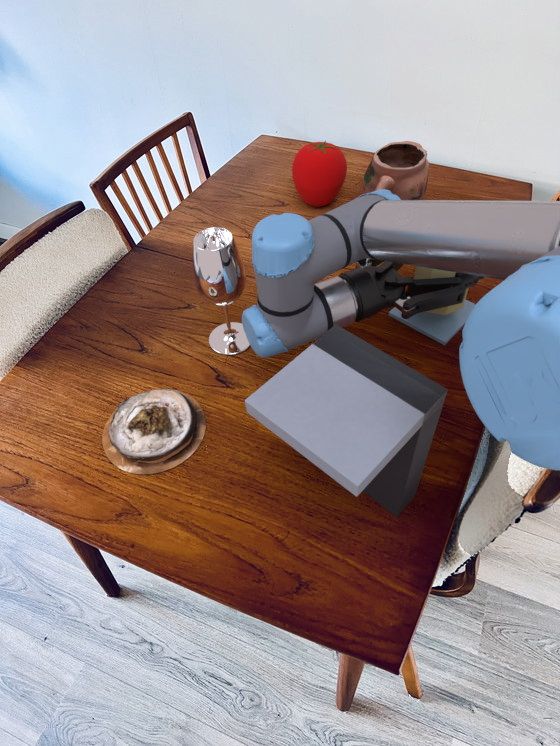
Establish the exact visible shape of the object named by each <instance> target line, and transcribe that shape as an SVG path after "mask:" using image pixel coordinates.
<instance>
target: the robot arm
mask: <svg viewBox="0 0 560 746" xmlns="http://www.w3.org/2000/svg"><path fill="white" fill-rule="evenodd" d="M251 262H252V266H253V271H254V278H255V283H256V284H255V285H256V290H257V291H256V292H257V297H256V301H257V303H256V304H252V305H251V306H250V307H247V308H246V309H244V310H243V312H242V315H241V323H242V325H243V329H244V332H245V335H246V337H247V340H248V342H249V344H250V347H251V349H252V351H253V352H254V353H255V354H256V355H257V356H258V357H260V358H262V359H269V358H271V357H274V356H277V355H280V354H283V353H288V352H290V351H291V350H294V349H296V348H298V347H300V346H303V345H305V344H308V343H310V342H312V341H313V342H314V341H316V340H317V339H319V338H320V337H321V336H322V335H323V334H325V333H326V332H327V331H328V330H329V329H331V328H332V327H333V326H334V325H335V324H337V325H338V326H340V327H342V328H343V329H345V328H347V327H349V326H353V324H354V323H360V322H363V321H365V320H368V319H370V318H373V317H375V316H377V315H378V314H379V313H380V312H381V311H383V310H384V309H393V308H394V307H396V308H397V309H398V310H400V311H401V312H402V314H401V317H402V318H403V319H408V318H410V317H412V316H413V315H415V314H417V313H421V312H426V311H430V310H434V309H439V308H443V307H447V306H451V305H456V304H460V303H462V302H463V299H464V296H465V292H466V288H471V287H473V286H475V285H477V284H478V282H479V281H480V280H483V279H485V278H488V279H489V278H490V279H495V280H502V281H501V282H500V283H499V284H497V285H496V286H495V287H493V288H492V289H491V290H489V291H488V292H487V293H486V294H484V295H483V297H481V298H480V299H479V300H478V301H477V302H476V303H475V304H476V305H475V306H474V308H473V309H472V311H471V312H470V314H469V316H468V318H467V320H466V322H465V325H464V326H463V327H462V331H461V333H462V334H461V335H462V336H461V337H462V341H461V343H460V345H459V351H458V357H459V370H460V375H461V379H462V383H463V387H464V389H465V392H466V395H467V398H468V400H469V402H470V404H471V406H472V408H473V410H474V413H475V414H476V416H477V417H478V419H479V420H480V421H481V422H482V424H483V425H484V427H485V428H486V430H487V431H488V432H489V434H491V435H492V436H493V438H495V439H496V441H498V442H500V443H505V442H507V443H508V445H509V450H510V452H511V454H513V455H514V456H516V457H518V458H519V459H521V460H523V461H524V462H527V463H529V464H531V465H533V466H536V467H539V468H542V469H546V470H551V471H555V472H556V474H557V475H558V476H559V477H560V200H477V199H476V200H474V199H473V200H472V199H471V200H469V199H468V200H465V199H463V200H462V199H461V200H459V199H457V200H453V199H451V200H448V199H444V200H443V199H440V200H439V199H421V200H401V199H400V198H399V197H398V196H397V195H394V194H392V193H391V191H389V190H385V189H380V190H376V191H374V192H371V193H367V194H365V193H363V194H360V195H358V196H357V197H355V198H354V199H352V200H350V201H348V202H346V203H343V204H342V205H339V206H337V207H335V208H333V209H330V210H329V211H327V212H324V213H323V214H322V213H321V214H320V215H318V216H315V217H313V218H310V219H309V220H308V219H307V218H306V217H304V216H302V215H299V214H297V213H293V212H283V213H282V214H275V213H273V214H270V215H268V216H265V217H263V218H262V219H261V220H259V221H258V222H257V224H256V225H255V226H254V228H253V230H252V234H251ZM353 264H355V267H354V268H352V269H349V270H346V271H345V272H342V273H339V275H333V276H331V275H332V274H335V273H337V272H338V271H342V270H343V269H345V268H347V267H349V266H351V265H353ZM404 265H407V266H408V265H409V266H415V267H416V266H420V267H426V268H432V269H438V270H445V271H451V272H456V274H455V277H449V278H431V279H414V276H403V275H402V274H399V272H398V271H399V270H400V269H401V268H402V267H403V266H404ZM329 276H331V277H329ZM451 286H452V287H451Z"/></svg>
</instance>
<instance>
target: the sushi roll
mask: <svg viewBox="0 0 560 746" xmlns="http://www.w3.org/2000/svg"><path fill="white" fill-rule="evenodd" d="M206 428H207V421H206V415H205V412H204V410H203V407H202V406H201V404H200V403H199V402H198V401H197V400H196V399H195V398H194V397H193V396H191V395H189V394H187V393H186V392H184V391H180V390H176V389H172V388H158V389H148V390H145V391H142V392H139V393H135V394H134V395H132V396H130V397H128V398H126V399H124V401H121V402H120V403H119V405H118V406H117V407H116V408H115V409H114V410H113V412H112V413H111V415H110V416H109V417H108V418H107V421H106V422H105V425H104V427H103V429H102V430H103V431H102V434H101V435H102V437H101V438H102V439H101V443H102V448H103V451H104V454H105V456H106V458H107V459H108V460H109V461H110V462H111V463H112V464H113V465H114V466H115V467H117V468H118V469H121V470H122V471H124V472H126V473H130V474H136V475H152V474H153V475H154V474H159V473H163V472H166V471H168V470H172V469H173V468H175V467H177V466H179V465H181V464H182V463H183V462H185V461H186V460H188V459H189V458H190V457H191V456H192V455H193V454H194V453H195V452H196V450H198V448H199V447H200V446H201V443H202V441H203V438H204V437H205V433H206Z"/></svg>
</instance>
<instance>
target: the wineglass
mask: <svg viewBox="0 0 560 746" xmlns="http://www.w3.org/2000/svg"><path fill="white" fill-rule="evenodd" d="M192 241H193V243H192V276H193V284H194V287H195V290H196V292H197V293H198V295H199V296H200V298H202V300H203V301H205V302H207V303H208V304H210V305H213V306H218V307H222V309H223V314H224V318H225V323H221V324H219V325H217V326H216V327H215V328H213V330H212V331H211V332H210V334H209V336H208V345H209V347H210V348H211V350H212V351H214V352H216V354H220V355H222V356H223V355H224V356H234V355H238V354H241V353H243V352H245V351H246V350H248V349H249V348H250V347H251V346H250V344H249V342H248V340H247V337H246V335H245V332H244V329H243V325H242V322H237V321H232V322H231V318H230V317H231V316H230V313H229V311H230V310H229V305H232V304H234V303H235V302H236V301H238V300H239V299H240V298H241V296H242V295H243V293H245V290H246V287H247V273H246V272H247V271H246V267H245V264H244V260H243V257H242V254H241V252H240V250H239V247H238V245H237V242H236V240H235V238H234V235H233V233H232V232H231V231H230V230H229V229H227V228H225V227H220V226H219V227H217V226H215V227H208V228H205V229H202V230H200V231H198V233H196V235H194V237H193V240H192Z"/></svg>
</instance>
